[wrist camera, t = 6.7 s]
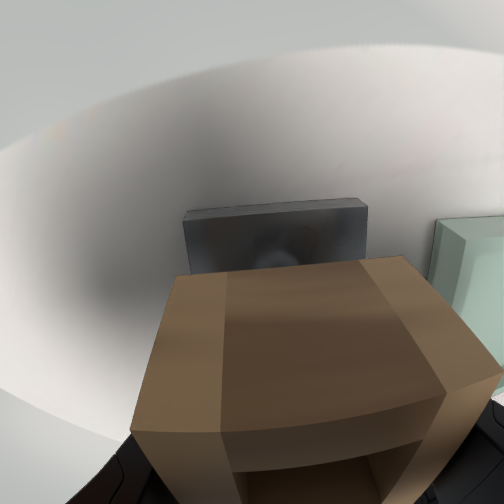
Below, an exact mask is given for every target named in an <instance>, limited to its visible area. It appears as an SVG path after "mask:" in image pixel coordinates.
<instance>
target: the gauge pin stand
mask: <svg viewBox="0 0 504 504" xmlns="http://www.w3.org/2000/svg"><path fill="white" fill-rule="evenodd" d="M367 217H368V206H367V205H366V204H364V203H363V202H362V201H361V200H359V199H358V198H348V199H331V200H314V201H299V202H286V203H272V204H260V205H248V206H237V207H226V208H215V209H205V210H195V211H187V213H186V215H185V217H184V219H183V228H184V234H185V240H186V246H187V252H188V258H189V263H190V269H191V275H193V274H206V273H218V272H231V271H243V270H254V269H266V268H277V267H288V266H299V265H310V264H321V263H331V262H342V261H352V260H362V259H365V251H366V236H367Z"/></svg>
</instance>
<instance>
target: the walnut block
mask: <svg viewBox="0 0 504 504" xmlns="http://www.w3.org/2000/svg"><path fill="white" fill-rule="evenodd" d="M503 374H504V370H503V369H502V367H501V366H500V365H499V364H498V362H497V361H496V360H495V358H494V357H493V356H492V355H491V353H490V352H489V351H488V350H487V348H486V347H485V346H484V345H483V344H482V342H481V341H480V340H479V339H478V338H477V336H476V335H475V334H474V333H473V332H472V330H471V329H470V328H469V327H468V326H467V325H466V323H465V322H464V321H463V320H462V319H461V318H460V317H459V315H458V314H457V313H456V312H455V311H454V310H453V309H452V307H451V306H450V305H449V304H448V303H447V302H446V301H445V300H444V299H443V298H442V296H441V295H440V294H439V293H438V292H437V291H436V290H435V289H434V288H433V287H432V286H431V285H430V284H429V282H428V281H427V280H426V279H425V278H424V277H423V276H422V275H421V274H420V273H419V272H418V271H417V270H416V269H415V268H414V267H413V266H412V265H411V264H410V263H409V262H408V261H407V260H406V259H405V258H404V257H403V256H402V255H401V256H392V257H382V258H372V259H362V260H352V261H342V262H331V263H321V264H310V265H299V266H288V267H277V268H266V269H254V270H243V271H231V272H218V273H206V274H193V275H180V276H176V278H175V281H174V283H173V286H172V289H171V292H170V295H169V298H168V301H167V304H166V307H165V311H164V314H163V317H162V320H161V323H160V326H159V329H158V332H157V336H156V339H155V342H154V345H153V349H152V352H151V355H150V359H149V362H148V365H147V369H146V372H145V376H144V379H143V383H142V386H141V390H140V393H139V397H138V400H137V404H136V408H135V411H134V415H133V419H132V423H131V426H130V431H131V433H132V435H133V436H134V438H135V440H136V441H137V443H138V445H139V446H140V448H141V449H142V451H143V452H144V454H145V456H146V457H147V459H148V460H149V462H150V463H151V465H152V466H153V468H154V469H155V471H156V472H157V474H158V475H159V476H160V478H161V479H162V481H163V482H164V483H165V485H166V486H167V488H168V489H169V490H170V492H171V493H172V494H173V496H174V497H175V498H176V500H177V501H178V502H179V504H413V503H414V502H415V501H416V500H417V499H418V498H419V497H420V496H421V495H422V493H423V492H424V491H425V490H426V489H427V488H428V487H429V485H430V484H431V483H432V482H433V481H434V479H435V478H436V477H437V476H438V474H439V473H440V472H441V471H442V469H443V468H444V467H445V466H446V464H447V463H448V462H449V460H450V459H451V458H452V456H453V455H454V454H455V452H456V451H457V449H458V448H459V447H460V445H461V444H462V442H463V441H464V439H465V438H466V437H467V435H468V434H469V432H470V431H471V429H472V427H473V426H474V424H475V423H476V421H477V420H478V418H479V416H480V415H481V413H482V412H483V410H484V408H485V407H486V405H487V403H488V401H489V400H490V398H491V396H492V394H493V393H494V391H495V389H496V387H497V385H498V383H499V382H500V380H501V378H502V376H503Z"/></svg>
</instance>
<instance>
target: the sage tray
mask: <svg viewBox="0 0 504 504" xmlns="http://www.w3.org/2000/svg"><path fill="white" fill-rule="evenodd" d="M427 281H428V282H429V284H430V285H431V286H432V287H433V288H434V289H435V290H436V291H437V292H438V293H439V294H440V295H441V296H442V298H443V299H444V300H445V301H446V302H447V303H448V304H449V305H450V306H451V307H452V309H453V310H454V311H455V312H456V313H457V314H458V315H459V317H460V318H461V319H462V320H463V321H464V322H465V323H466V325H467V326H468V327H469V328H470V329H471V330H472V332H473V333H474V334H475V335H476V336H477V338H478V339H479V340H480V341H481V342H482V344H483V345H484V346H485V347H486V348H487V350H488V351H489V352H490V353H491V355H492V356H493V357H494V358H495V360H496V361H497V362H498V364H499V365H500V366H501V367H502V369H503V370H504V216H494V217H475V218H457V219H440V220H436V228H435V236H434V243H433V250H432V256H431V262H430V268H429V274H428V279H427ZM502 392H504V374H503V376H502V378H501V380H500V382H499V383H498V385H497V387H496V389H495V391H494V393H493V394H492V396H491V397H493V396H496V395H498V394H500V393H502Z"/></svg>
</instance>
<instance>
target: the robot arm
mask: <svg viewBox="0 0 504 504" xmlns="http://www.w3.org/2000/svg"><path fill="white" fill-rule="evenodd" d="M66 504H179V502H178V501H177V500H176V498H175V497H174V496H173V494H172V493H171V492H170V490H169V489H168V488H167V486H166V485H165V483H164V482H163V481H162V479H161V478H160V476H159V475H158V474H157V472H156V471H155V469H154V468H153V466H152V465H151V463H150V462H149V460H148V459H147V457H146V456H145V454H144V452H143V451H142V449H141V448H140V446H139V445H138V443H137V441H136V440H135V438H134V436H133V435H132V433H131V434H130V435H129V437H128V438H127V439H126V440H125V441H124V443H123V444H122V445H121V446H120V448H119V449H118V450H117V451H116V454H114V455H113V456H112V457H111V458H110V460H109V461H108V462H107V463H106V464H105V465H104V467H103V468H102V469H101V470H100V471H99V472H98V473H97V475H95V476H94V477H93V478H92V479H91V480H90V481H89V482H88V483H87V484H86V485H85V486H84V487H83V488H82V489H81V490H80V491H79V492H78V493H77V494H76V495H74V496H73V497H72V498H71V499H70V500H69V501H68V502H67V503H66ZM413 504H504V406H502V405H500V404H499V403H497V402H496V401H494V400H492V399H491V398H490V400H489V401H488V403H487V405H486V407H485V408H484V410H483V412H482V413H481V415H480V416H479V418H478V420H477V421H476V423H475V424H474V426H473V427H472V429H471V431H470V432H469V434H468V435H467V437H466V438H465V439H464V441H463V442H462V444H461V445H460V447H459V448H458V449H457V451H456V452H455V454H454V455H453V456H452V458H451V459H450V460H449V462H448V463H447V464H446V466H445V467H444V468H443V469H442V471H441V472H440V473H439V474H438V476H437V477H436V478H435V479H434V481H433V482H432V483H431V484H430V485H429V487H428V488H427V489H426V490H425V491H424V492H423V493H422V495H421V496H420V497H419V498H418V499H417V500H416V501H415V502H414V503H413Z"/></svg>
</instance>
